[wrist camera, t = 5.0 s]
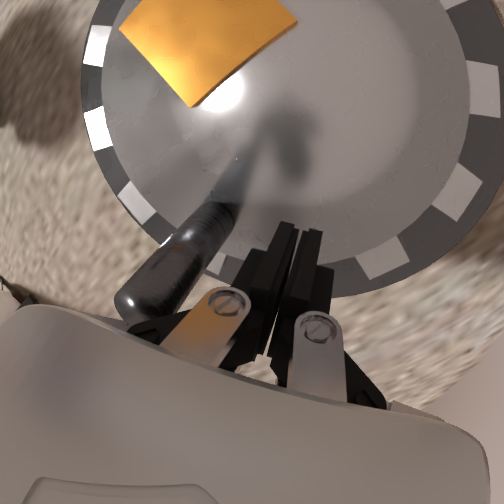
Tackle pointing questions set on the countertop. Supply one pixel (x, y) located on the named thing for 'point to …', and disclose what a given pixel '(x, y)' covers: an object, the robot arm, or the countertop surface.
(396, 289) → the countertop surface
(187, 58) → the sprocket
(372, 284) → the base plate
